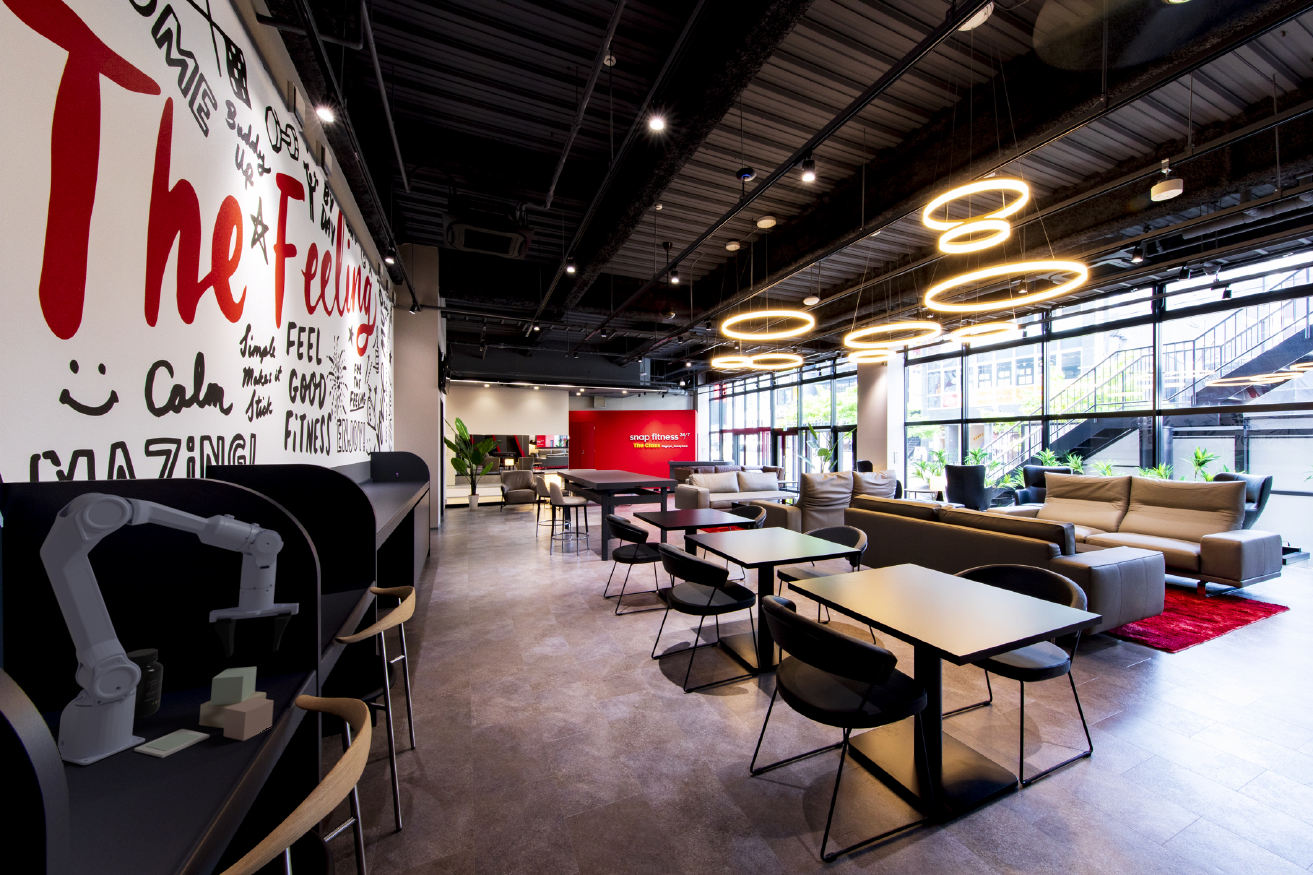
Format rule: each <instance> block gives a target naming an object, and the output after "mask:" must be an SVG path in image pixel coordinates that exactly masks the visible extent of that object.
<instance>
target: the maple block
mask: <svg viewBox="0 0 1313 875" xmlns="http://www.w3.org/2000/svg"><path fill="white" fill-rule="evenodd" d="M252 697H258V698H263V699H267V692H264V691H263V692H262V691H256V690H255V692H254V693H253V694H252V695H251V696H249V697H248V698H247V699H250V698H252ZM247 699H246V700H247ZM244 701H245V700H244ZM210 704H211V699H210V700H209V701H206V702H204V703H201V704H200V709H199V711H200V712H199V722H198V725H200V726H204V727H212V728H220V729H224V723H225V710H226V708H228V707H230V706H233V705H235V704H224V705H212V706H210ZM236 704H238V703H236Z"/></svg>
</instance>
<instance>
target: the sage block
mask: <svg viewBox="0 0 1313 875" xmlns="http://www.w3.org/2000/svg"><path fill="white" fill-rule="evenodd" d="M256 679H257V666H248V667H231V668H226V669H224V670H223V671H222V672H220V673H219V674H217V675H216V676H214V677H213V678H212V681H211V682H212V683H211V695H210V700H211V704H210V706H212V705H224V704H236V703H240V702H242V701H244V700H246V699H247V698H248V697H249V696H251V695H252V694H253V693H254V692H255V691H256Z"/></svg>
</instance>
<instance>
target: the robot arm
mask: <svg viewBox="0 0 1313 875" xmlns="http://www.w3.org/2000/svg"><path fill="white" fill-rule="evenodd" d="M234 518H235V516H234V515H230V514H227V513H226V514H224V515H220V514H217V515H214V516H210V517H208V518H206V517H202V516H198V515H197V514H196V515H195V514H192V513H189V512H186V511H182V510H180V509H176V508H172V507H169V506H166V505H164V504H160V503H157V502H153V501H148V500H142V499H138V498H137V499H136V498H131V497H130V498H129V497H123V496H122V497H121V496H119V495H114V494H105V493H101V492H90V493H84V494H81V495H78V496H77V497H74V498H73V499H72V500H71V501H69V502H68V503H67V504H66V505H65V506H64V507H62V508H61V509H60V510H59V511H58V512H57V514H56V517H55V520H54V523H53V524H52V526H51V528H50V531H49V532H48V534H47V535H46V537H45V540H44V542H43V543H42V546H41V548H40V550H39V556H40V559H41V561H42V564H43V566H44V568H45V572H46V574H47V576H48V579H49V582H50V584H51V587H52V590H53V592H54V595H55V597H56V600H57V602H58V606H59V607H60V610H61V613H62V616H63V618H64V620H65V624H66V626H67V629H68V631H69V634H70V637H71V640H72V642H73V644H74V646H75V650H76V651H75V656H76V659H77V662H78V664H77V665H78V666H77V669H76V672H75V681H76V683H77V684H78V685H79V687H81V688H83V689H82V690H80V692H79V693H78V695H77V696H76V697H75V698H74V699H72V700H71V701H70V702H69V703H68V704H67V705H66V706H65V707H64V709H63V711H62V713H61V715H60V722H59V732H58V741H57V749H58V748H59V751H60V753H61V757H62V759H61V760H63V761H67V762H70V763H74V764H76V765H77V764H78V765H82V766H87V765H90V764H93V763H96V762H97V761H100V760H102V759H105V758H107V757H111V756H112V755H115V754H117V753H120V752H122V751H125V750H127V749H129V748H132V747H134V746H137V745H140V744H142V743H145V741H146V738H144V737H140V736H137V735H133V728H134V721H133V720H134V708H135V697H136V685H137V684H138V682H139V681H140V678H141V670H140V668H139V666H138V665H136V664H135V663H133V662H131V661H130V660H129V659H128V658H127V656H126V654H127V653H126V651H125V649H124V647H123V646H122V644H121V642H120V641H119V638H118V636H117V634H116V630H115V628H114V625H113V623H112V620H111V617H110V614H109V611H108V610H107V607H106V603H105V601H104V598H103V595H102V593H101V590H100V587H99V585H98V581H97V578H96V576H95V573H94V571H93V568H92V565H91V563H90V559H89V558H88V554H89V553H90V552H91V551H92V549H94V547H95V546H96V545H97V544H99V542H101V540H102V539H103V538H105V537H106V536H108V535H110V534H111V533H113V532H115V531H116V530H119V529H120V528H122V526H124V525H128V526H136V525H137V526H138V525H142V524H147V523H152V524H156V525H158V526H159V525H160V526H164V527H168V528H171V529H177V530H179V531H181V530H182V531H185V532H189V533H194V534H196V535H197V536H198V538H199V541H200V542H201V543H202V544H206V545H210V546H214V547H218V548H222V549H226V550H229V551H234V552H238V553H239V552H240V553H242V564H241V573H240V587H239V588H240V589H239V598H238V600H239V601H238V606H237V607H229V608H223V609H222V608H221V609H215V610H212V611H210V612H209V621H208V622H209V623H215V625H214V629H215V632H217V635H219V637H220V640H221V642H222V644H223V648H224V652H225V653H224V654H225V658H231V656H232V655H233V654H234V649H235V647H234V645H235V644H234V638H235V629H236V623H237V620H240V619H242V620H243V619H252V618H261V617H269V616H270V617H272V616H276V617H275V618H274V620H273V621H274V623H273V624H274V635H273V642H272V652H277V651H278V650H279V648H280V643H281V641H282V640H281V639H282V636H283V634H284V633H285V630H286V628H287V626H288V623H289V622H290V620H291V618H292V616H293V615H297V614H298V613H299V605H300V603H299V602H296V603H295V602H293V603H274V600H275V599H274V597H275V588H276V586H275V585H276V573H277V555H278V553H279V552H281V550H282V548H283V547H284V541H282V537H281V535H280V534H279V533H278V532H277V531H275V530H271V529H266V528H263V527H261V526H260V524H258V523H256V522H252V523H251V524H250V523H247V522H244V521H241V520H238V519H234Z"/></svg>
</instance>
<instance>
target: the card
mask: <svg viewBox="0 0 1313 875" xmlns="http://www.w3.org/2000/svg"><path fill="white" fill-rule="evenodd" d="M208 738H210V734H207V733H203V732H199V731H195V730H191V729H185V728H181V729H178V730H176V731H173V732H171V733H168V734H167V735H163V736H161V737H159V738H155V739H154V740H150V741H149V742H146V743H145V744H142V745H140V746H136V747H134V752H136V753H137V752H138V753H142V754H145V755H151V756H153V757H154V756H155V757H158V758H161V759H163V758H165V757H168V756H170V755H172V754H175V753H176V752H179V751H181V750H183V749H186V748H187V747H191V746H192V745H194V744H196V743H199V742H202V741H204V740H206V739H208Z"/></svg>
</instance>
